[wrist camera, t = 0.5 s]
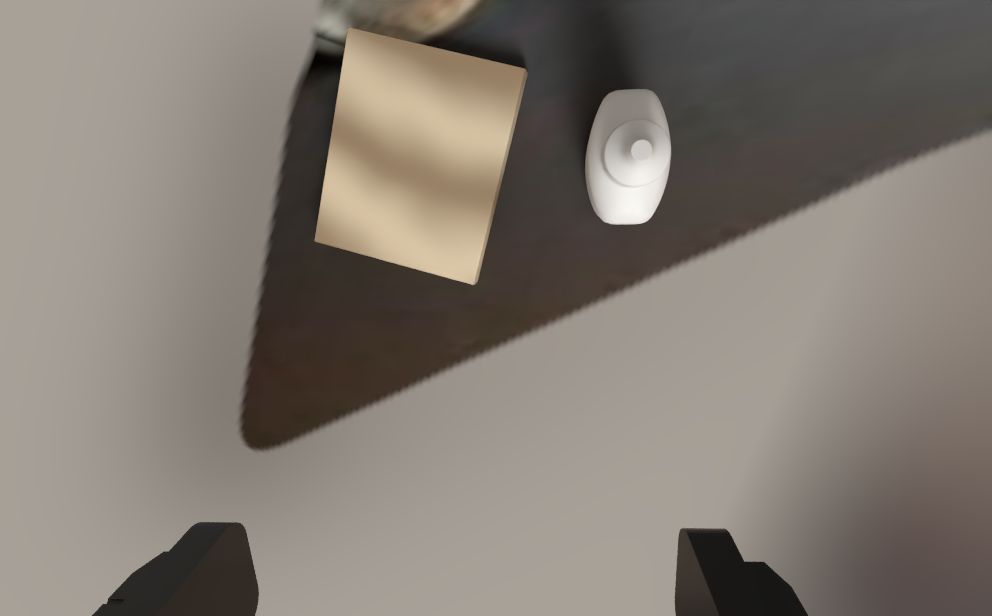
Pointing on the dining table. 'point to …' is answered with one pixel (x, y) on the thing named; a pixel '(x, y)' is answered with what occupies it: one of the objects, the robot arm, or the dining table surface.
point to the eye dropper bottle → (628, 157)
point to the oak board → (417, 154)
